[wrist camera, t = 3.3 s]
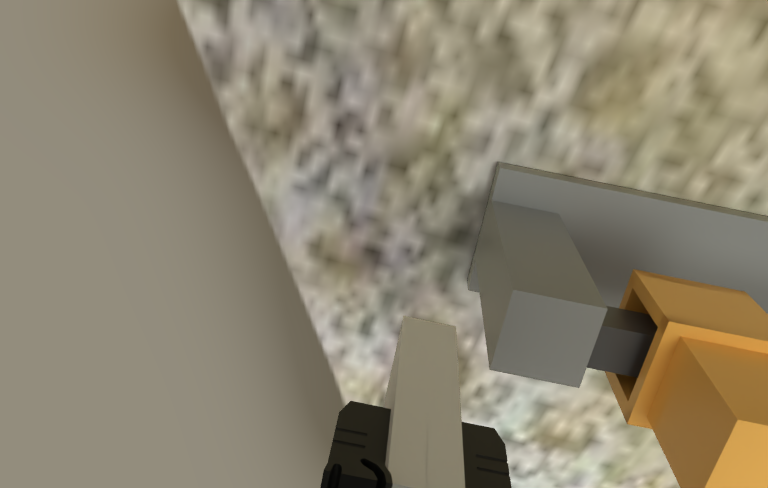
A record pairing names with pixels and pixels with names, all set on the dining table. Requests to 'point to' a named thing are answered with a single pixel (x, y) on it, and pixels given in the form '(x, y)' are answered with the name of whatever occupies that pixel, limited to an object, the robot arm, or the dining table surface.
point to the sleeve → (701, 380)
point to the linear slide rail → (595, 268)
